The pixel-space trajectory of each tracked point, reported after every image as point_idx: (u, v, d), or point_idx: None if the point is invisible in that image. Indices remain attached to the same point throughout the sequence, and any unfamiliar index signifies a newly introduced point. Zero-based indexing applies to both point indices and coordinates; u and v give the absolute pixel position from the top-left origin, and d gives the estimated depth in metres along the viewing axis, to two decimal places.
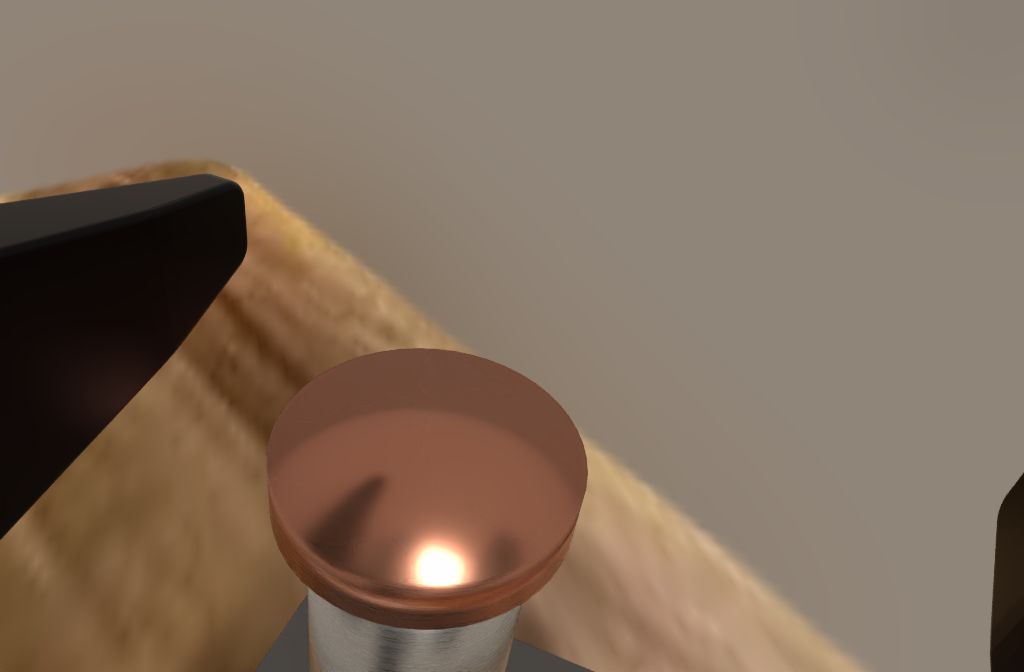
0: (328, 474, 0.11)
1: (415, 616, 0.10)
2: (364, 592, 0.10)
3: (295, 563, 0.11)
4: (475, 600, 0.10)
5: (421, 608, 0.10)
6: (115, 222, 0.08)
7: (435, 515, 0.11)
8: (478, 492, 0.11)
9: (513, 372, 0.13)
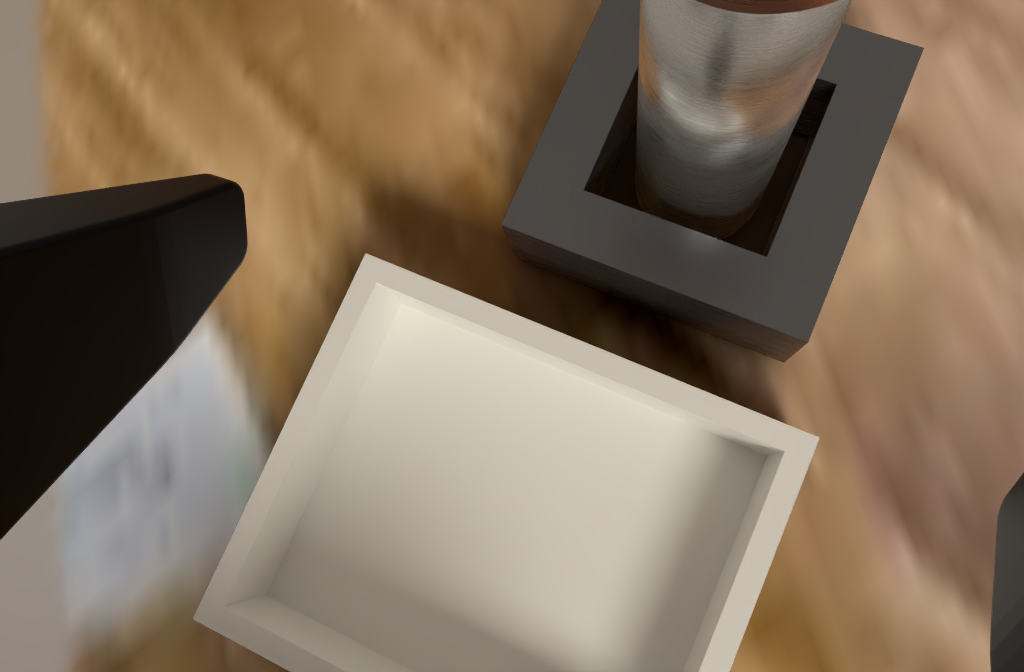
0: None
1: (775, 1, 0.11)
2: None
3: None
4: None
5: None
6: (115, 222, 0.08)
7: None
8: None
9: None
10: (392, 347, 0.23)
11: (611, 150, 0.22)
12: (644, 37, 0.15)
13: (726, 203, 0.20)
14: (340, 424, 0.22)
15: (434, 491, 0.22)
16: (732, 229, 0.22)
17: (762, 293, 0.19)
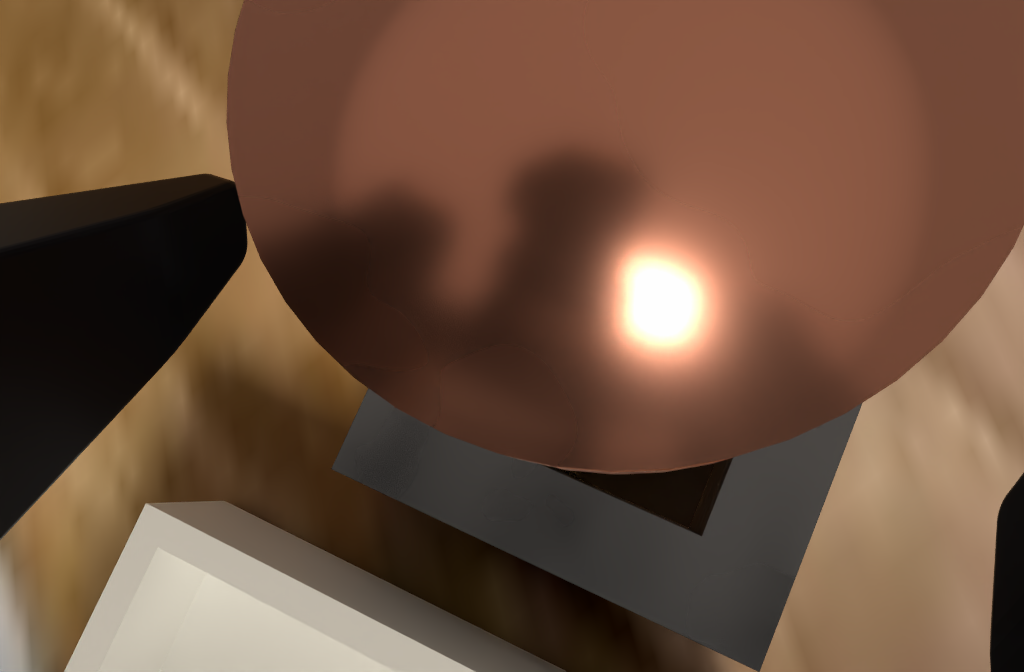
0: (367, 168, 0.05)
1: (602, 472, 0.05)
2: None
3: None
4: None
5: (612, 472, 0.05)
6: (115, 222, 0.08)
7: (630, 267, 0.04)
8: (740, 185, 0.04)
9: None
10: (208, 601, 0.17)
11: None
12: None
13: None
14: None
15: None
16: None
17: (695, 592, 0.13)
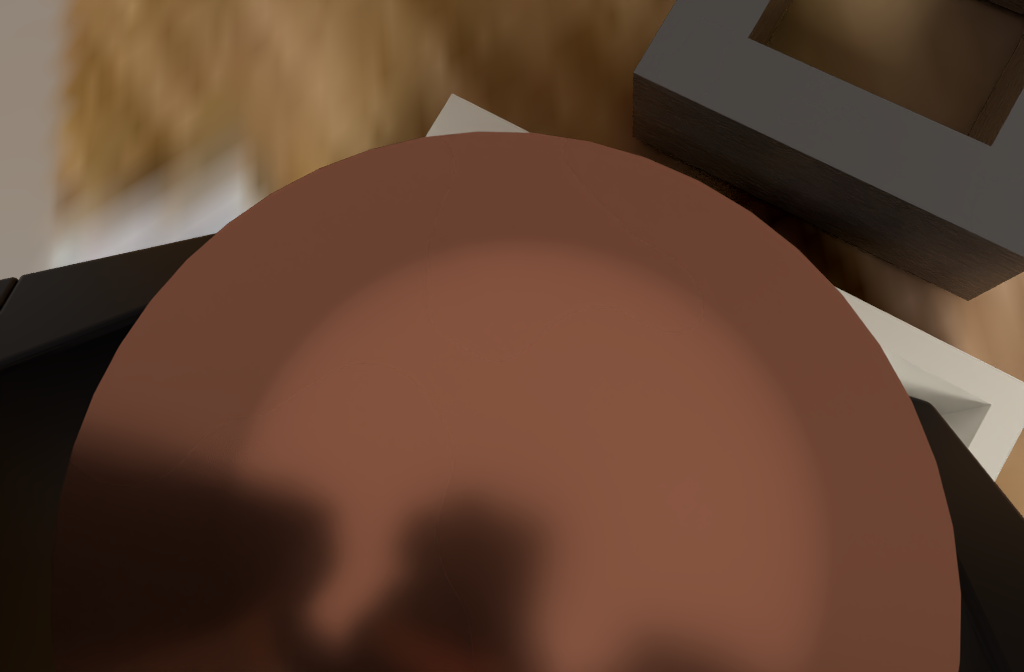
0: None
1: None
2: None
3: None
4: None
5: None
6: None
7: None
8: None
9: (723, 198, 0.04)
10: None
11: (779, 2, 0.17)
12: None
13: None
14: None
15: None
16: None
17: (981, 194, 0.14)
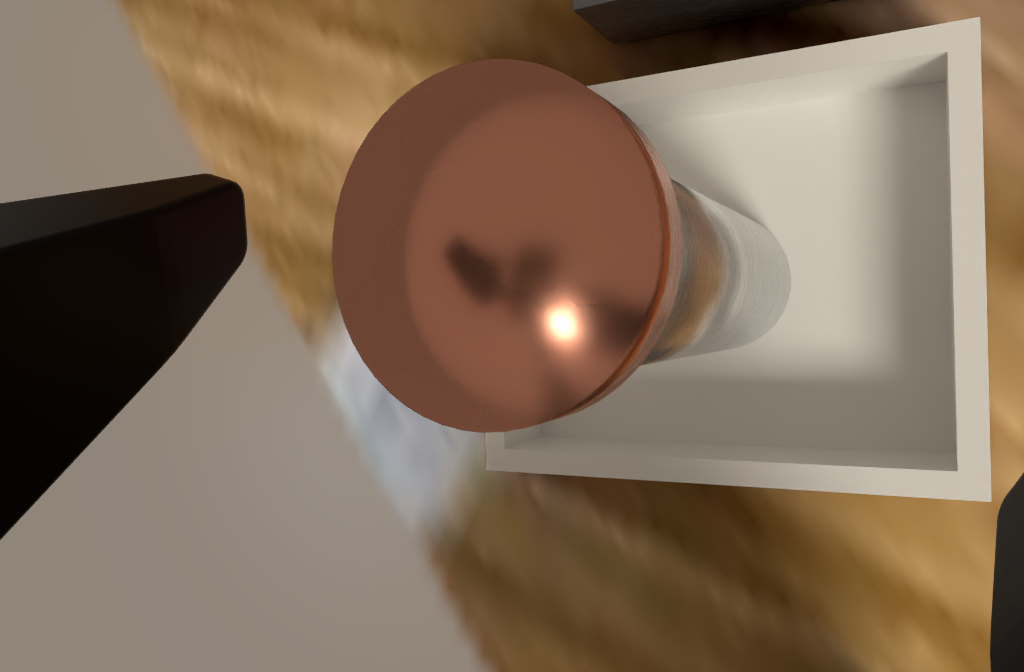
0: (420, 347, 0.10)
1: (584, 406, 0.10)
2: None
3: None
4: (621, 371, 0.10)
5: (583, 405, 0.10)
6: (115, 222, 0.08)
7: (530, 328, 0.10)
8: (549, 270, 0.10)
9: (485, 60, 0.10)
10: None
11: None
12: None
13: (744, 334, 0.18)
14: None
15: None
16: (777, 316, 0.20)
17: None
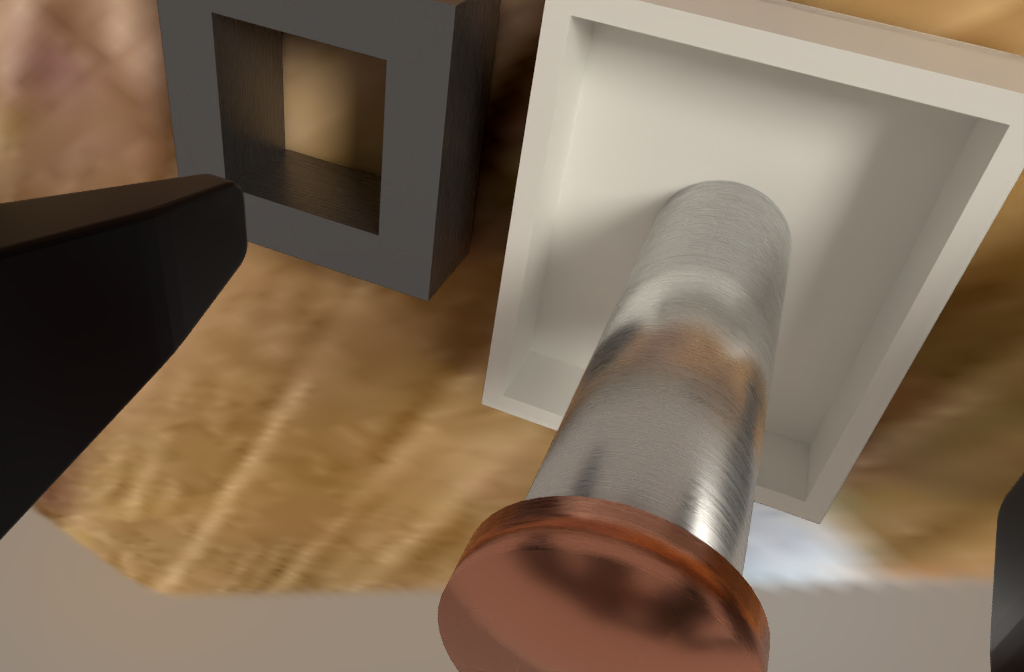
0: None
1: (765, 639, 0.11)
2: None
3: None
4: (743, 616, 0.10)
5: (763, 648, 0.11)
6: (115, 222, 0.08)
7: (674, 671, 0.11)
8: (629, 640, 0.11)
9: None
10: (569, 355, 0.25)
11: (345, 197, 0.23)
12: None
13: (775, 278, 0.18)
14: None
15: None
16: (773, 212, 0.20)
17: (421, 59, 0.19)
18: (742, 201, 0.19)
